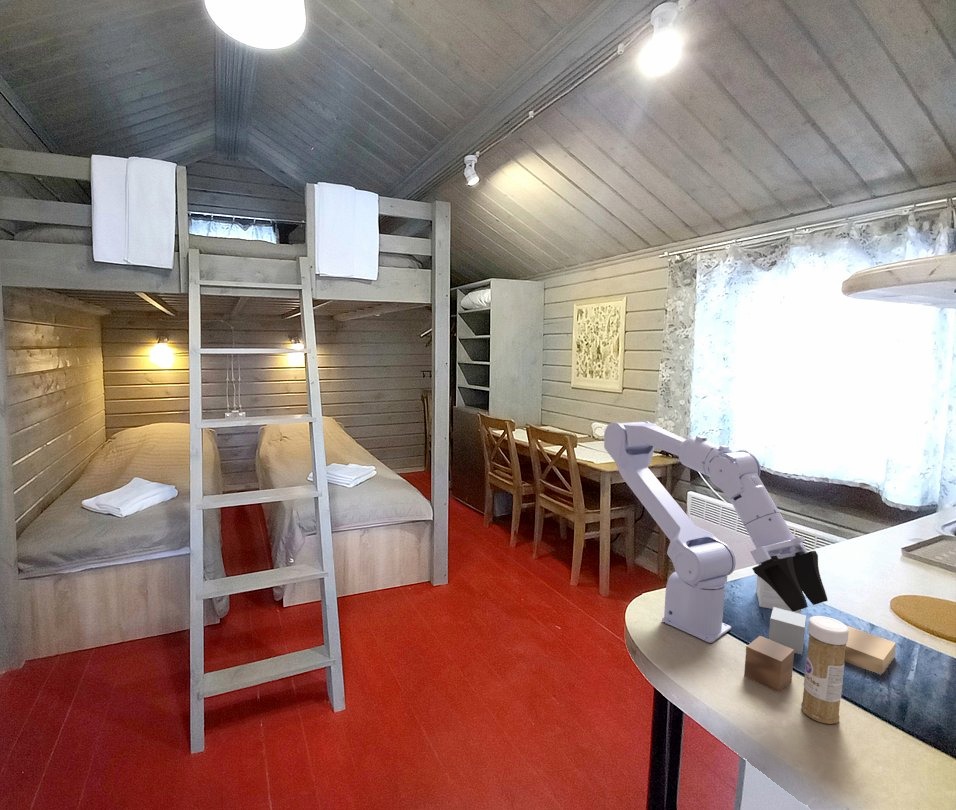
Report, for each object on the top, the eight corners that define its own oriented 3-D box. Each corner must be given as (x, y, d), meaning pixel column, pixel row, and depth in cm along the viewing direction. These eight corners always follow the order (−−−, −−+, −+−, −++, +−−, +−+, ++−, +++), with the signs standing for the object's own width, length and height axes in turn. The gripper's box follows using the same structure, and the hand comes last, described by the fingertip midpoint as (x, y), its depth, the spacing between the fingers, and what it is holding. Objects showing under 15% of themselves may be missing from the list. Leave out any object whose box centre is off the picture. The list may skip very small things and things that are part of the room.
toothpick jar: (793, 704, 74) (801, 614, 73) (822, 702, 74) (831, 613, 73) (817, 727, 69) (826, 632, 68) (848, 725, 70) (857, 631, 69)
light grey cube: (768, 645, 89) (770, 618, 89) (771, 633, 93) (773, 606, 93) (802, 655, 86) (804, 627, 86) (803, 642, 90) (806, 615, 90)
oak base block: (822, 654, 87) (824, 637, 87) (838, 638, 92) (839, 623, 92) (881, 678, 81) (883, 660, 81) (894, 659, 86) (895, 642, 86)
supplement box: (795, 599, 106) (800, 540, 105) (801, 615, 100) (806, 552, 99) (755, 591, 110) (759, 534, 108) (757, 607, 103) (762, 545, 102)
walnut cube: (744, 676, 80) (746, 646, 80) (757, 664, 83) (759, 635, 83) (778, 693, 76) (781, 661, 76) (791, 680, 80) (794, 649, 79)
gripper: (764, 510, 76) (818, 604, 69) (803, 508, 85) (855, 592, 78) (723, 529, 80) (770, 619, 74) (765, 525, 89) (810, 605, 83)
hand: (810, 606), depth 76 cm, fingers open, 7 cm apart
